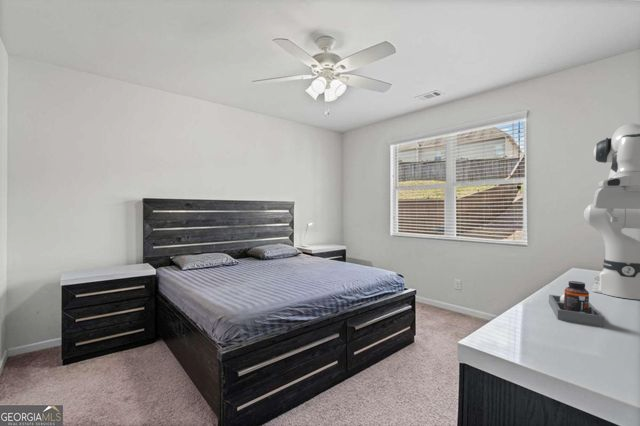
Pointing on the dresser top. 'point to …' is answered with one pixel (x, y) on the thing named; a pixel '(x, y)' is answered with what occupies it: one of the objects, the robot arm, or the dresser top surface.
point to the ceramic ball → (562, 298)
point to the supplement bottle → (576, 297)
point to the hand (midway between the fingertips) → (633, 222)
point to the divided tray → (575, 313)
